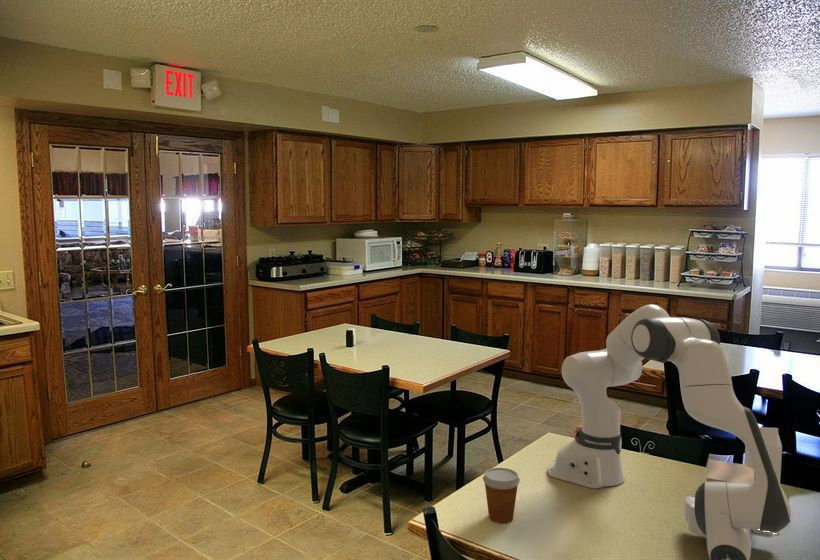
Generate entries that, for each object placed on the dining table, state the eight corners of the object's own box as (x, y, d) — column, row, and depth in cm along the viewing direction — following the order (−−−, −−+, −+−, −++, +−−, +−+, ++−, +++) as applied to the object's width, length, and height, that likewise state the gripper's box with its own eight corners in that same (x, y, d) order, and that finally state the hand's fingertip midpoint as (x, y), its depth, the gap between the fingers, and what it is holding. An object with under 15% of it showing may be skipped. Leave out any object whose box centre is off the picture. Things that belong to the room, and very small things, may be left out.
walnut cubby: (705, 514, 162) (706, 477, 161) (707, 493, 175) (708, 459, 174) (752, 524, 157) (754, 486, 156) (751, 501, 170) (753, 466, 169)
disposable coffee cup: (496, 530, 155) (497, 484, 154) (475, 514, 164) (475, 471, 162) (526, 521, 160) (527, 477, 158) (504, 506, 168) (505, 464, 167)
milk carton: (779, 498, 171) (783, 432, 169) (751, 496, 173) (754, 431, 171) (769, 487, 178) (773, 424, 176) (743, 485, 180) (746, 422, 178)
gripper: (781, 523, 139) (777, 498, 151) (682, 504, 149) (686, 482, 161) (779, 550, 140) (776, 523, 152) (681, 529, 149) (685, 505, 161)
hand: (729, 502), depth 156 cm, fingers open, 5 cm apart
